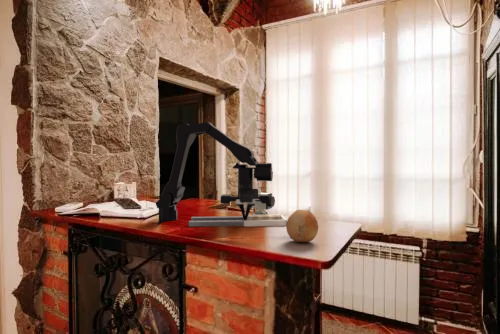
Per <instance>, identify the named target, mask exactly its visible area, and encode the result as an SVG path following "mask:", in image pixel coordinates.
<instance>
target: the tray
mask: <svg viewBox="0 0 500 334" xmlns="http://www.w3.org/2000/svg"><path fill="white" fill-rule="evenodd" d="M260 215H279V216H280V220H248V217H247V220H244V219H243V220H244V227H286V224H287V220H288V219H286V217H284V216H283V214H280V213H278V214H277V213H276V214H275V213H272V214H270V213H269V214H268V213H267V214H260ZM241 216H243V215H242V214H241Z"/></svg>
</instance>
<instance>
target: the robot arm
mask: <svg viewBox="0 0 500 334" xmlns="http://www.w3.org/2000/svg"><path fill="white" fill-rule="evenodd" d="M205 134H207V135H209V136H210V137H211V138H213V139H214V140H215V141H217V142H218V143H220V144H221V145H222V146H223V147H225V148H226V149H227V150H229V152H231V154H232V155H233V157H234V158H235V159H236V160H238V162H236V163H235V165H233V166H232V169H236V170H237V196H232V194H228V193H227V194H226V193H225V194H223V193H222V194H221V195H220V204H223V205H224V204H228V205H229V204H230V203H231V202H235V206H237V207H239V209H240V212H241V216H242V215H243V219H244V220H247V217H248V215H250V211H251V209H252V208H251V207H252V206H255V203H254V202H255V201H260V202H261V203H270V196H269V195H267V194H259V196H258V192H259V189H258V188H253V187H254V179H256V181H257V182H273V177H274V176H273V175H274V171H273V163H272V162H270V163H269V162H267V163H259V162H258V160H257V159H256V157H255V153H254V151H253V150H252V148H249V147H248V146H245V145H243V144H241V143H239V142H236V141H235V140H234V139H233V138H231V137H230V136H228V135H227V134H225V133H224V132H223V131H222V130H220V129H219V128H218V127H216V126H215V125H214V124H213V123H211V122H208V121H204V122H199V123H190V124H188V123H184V122H183V123H181V124H179V125H178V126H177V128H176V144H177V145H176V151H175V156H174V160H173V164H172V169H171V172H170V177H169V181H168V182H166V185H165V186H164V188H163V191H162V194H161V197H160V198H159V199H158V200H157V201H156V202H155V206H156V208H157V209H158V221H157V224H162V223H163V222H172V221H177V220H178V209H177V205H179V204H178V203H179V201H180V200H181V199H182V198H183V197H184V192H185V189H186V187H185V186H183V184H182V180H183V176H184V172H185V167H186V163H187V159H188V154H189V150H190V147H191V146H192V144H193V143H194V141H195V139H196V136H201V135H205ZM241 163H242V164H241ZM249 166H250V167H249ZM245 204H246V205H245Z"/></svg>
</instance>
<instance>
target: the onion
mask: <svg viewBox="0 0 500 334" xmlns="http://www.w3.org/2000/svg"><path fill="white" fill-rule="evenodd" d="M286 220H287V224H286V226H285V227H286V232H287V235H288V236H289V238H290V239H291V240H293V241H294V242H295V243H310V242H312V241H313V240H315V238H316V237H317V236H318V235H317V234H318V232H319V223H318V222H319V221H318V219H317V218H316V216H315V214H314V213H312V212H311V211H310V210H307V209H297V210H295V211H294V212H292V213H291V214H290V215H289V216H288V218H287V219H286Z"/></svg>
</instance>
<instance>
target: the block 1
mask: <svg viewBox="0 0 500 334" xmlns="http://www.w3.org/2000/svg"><path fill="white" fill-rule="evenodd" d="M248 220H259V215H253V214H248Z"/></svg>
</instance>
